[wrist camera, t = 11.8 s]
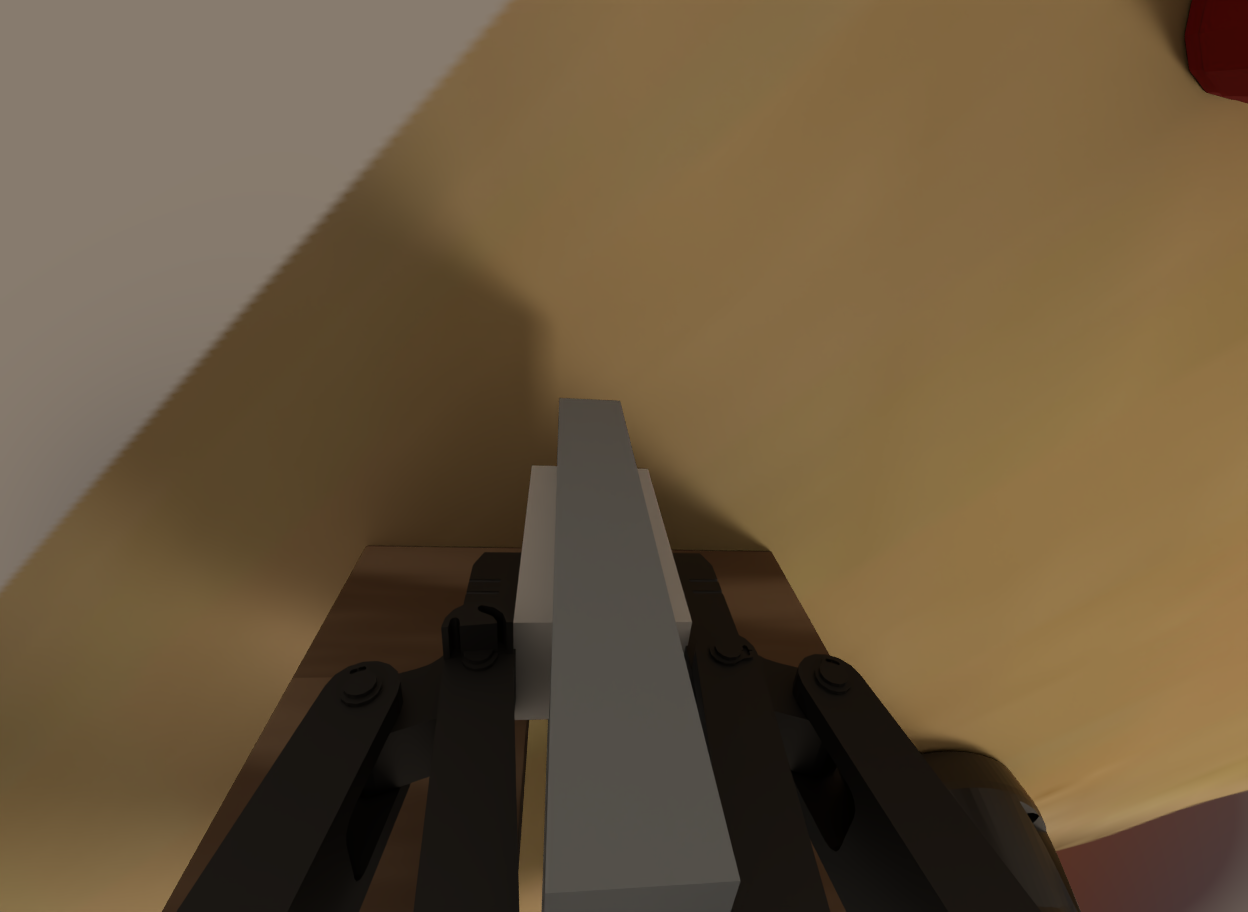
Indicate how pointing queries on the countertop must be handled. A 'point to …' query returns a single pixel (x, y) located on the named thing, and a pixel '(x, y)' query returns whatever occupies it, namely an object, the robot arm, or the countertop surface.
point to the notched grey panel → (621, 701)
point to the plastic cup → (1219, 46)
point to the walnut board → (411, 638)
